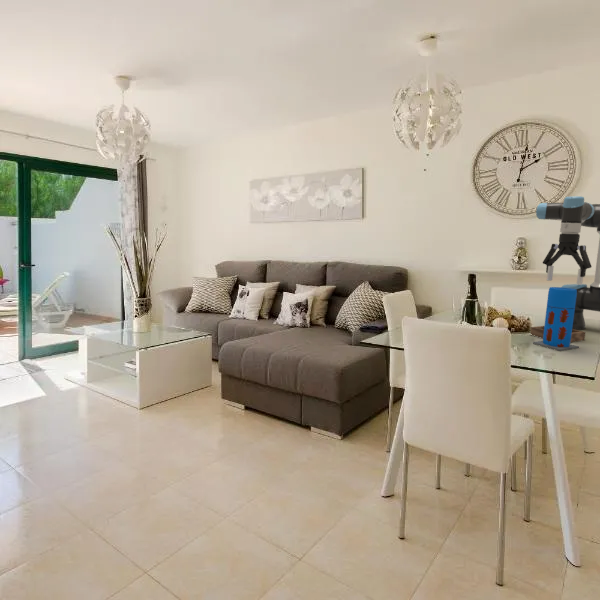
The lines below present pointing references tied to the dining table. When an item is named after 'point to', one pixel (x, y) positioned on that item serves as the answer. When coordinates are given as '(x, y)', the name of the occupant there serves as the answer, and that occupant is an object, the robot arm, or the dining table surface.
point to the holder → (575, 335)
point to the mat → (556, 347)
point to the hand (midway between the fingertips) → (563, 282)
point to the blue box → (559, 316)
